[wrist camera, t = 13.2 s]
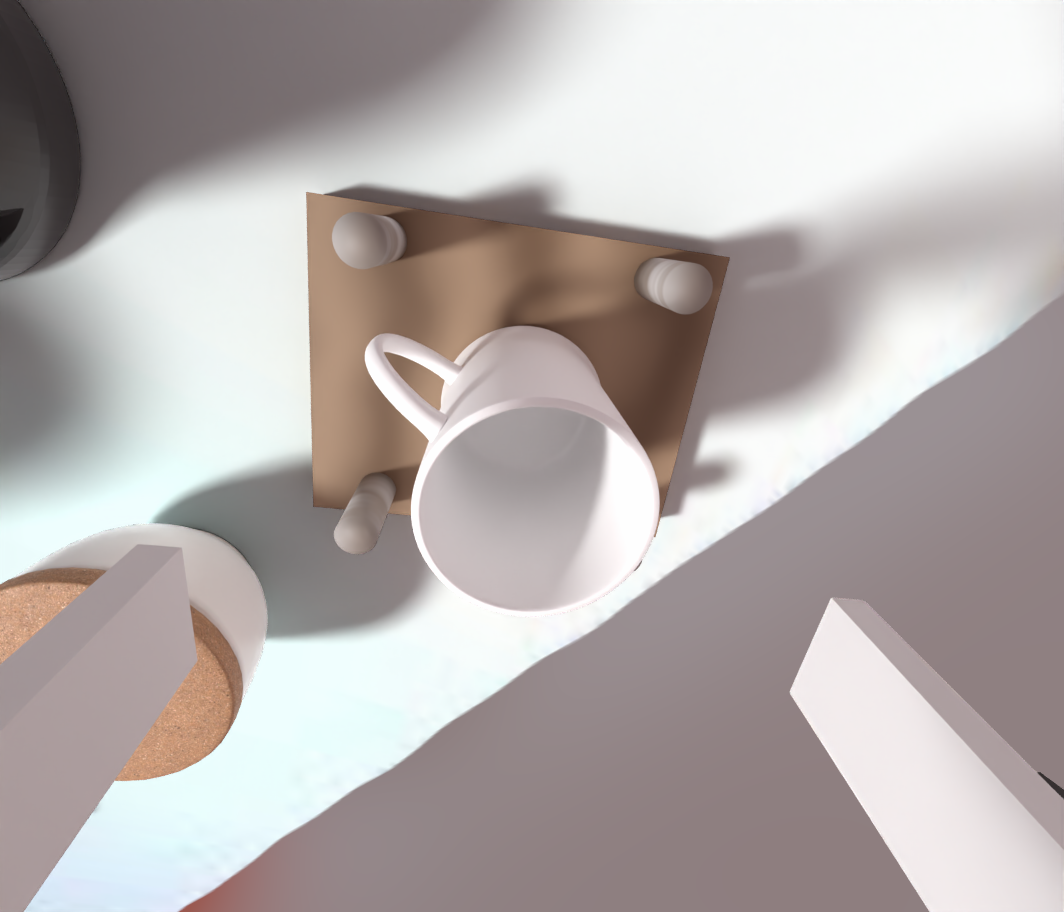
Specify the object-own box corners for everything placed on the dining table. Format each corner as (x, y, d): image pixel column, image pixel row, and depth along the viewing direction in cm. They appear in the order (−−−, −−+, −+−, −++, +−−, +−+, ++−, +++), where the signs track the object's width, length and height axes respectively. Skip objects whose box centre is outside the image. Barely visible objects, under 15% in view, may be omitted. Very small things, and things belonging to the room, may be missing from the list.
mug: (357, 367, 27) (256, 459, 16) (470, 237, 25) (445, 237, 13) (524, 507, 30) (538, 662, 19) (634, 403, 28) (721, 511, 17)
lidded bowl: (320, 641, 36) (251, 803, 26) (134, 664, 35) (-11, 837, 25) (264, 475, 31) (149, 594, 21) (47, 500, 30) (-177, 634, 20)
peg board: (324, 490, 31) (279, 557, 25) (320, 195, 25) (260, 181, 19) (646, 520, 34) (682, 588, 27) (714, 255, 27) (781, 262, 21)
